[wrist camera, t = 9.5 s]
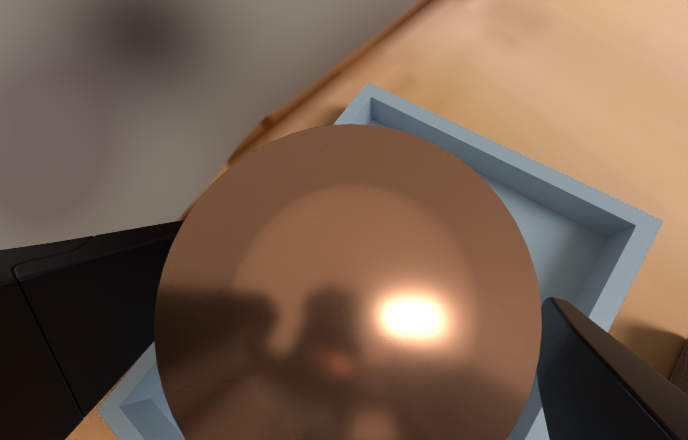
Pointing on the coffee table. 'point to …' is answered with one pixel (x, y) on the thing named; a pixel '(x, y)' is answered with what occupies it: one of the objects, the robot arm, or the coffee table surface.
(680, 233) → the coffee table surface
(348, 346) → the pin
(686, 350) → the block
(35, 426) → the robot arm
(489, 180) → the tray
